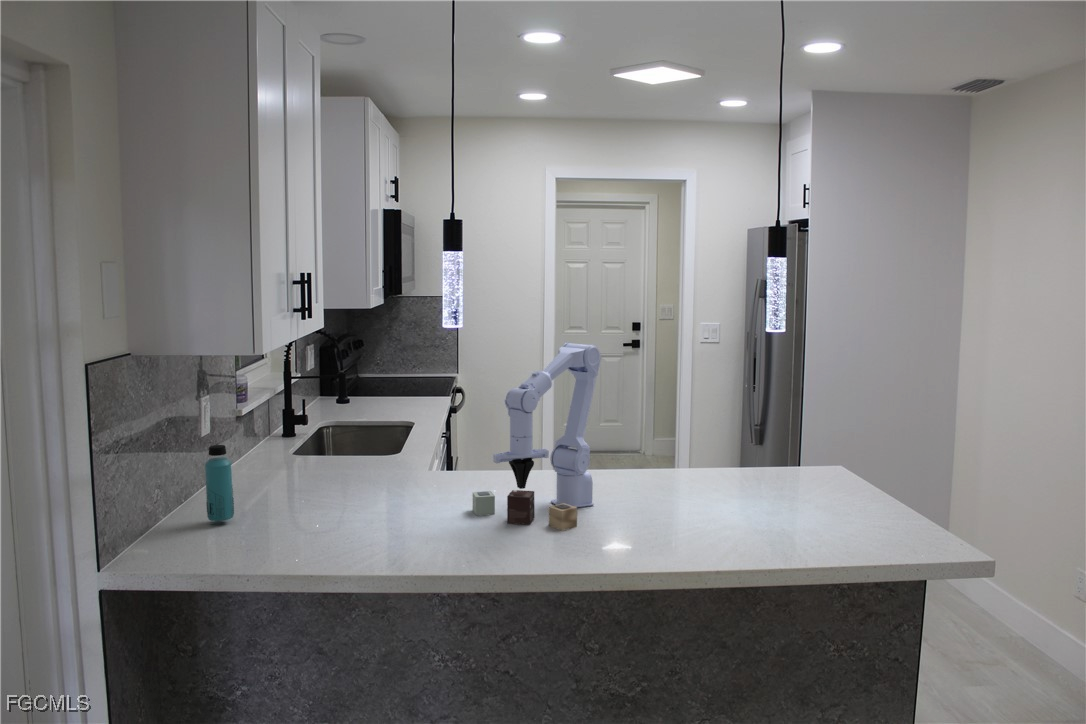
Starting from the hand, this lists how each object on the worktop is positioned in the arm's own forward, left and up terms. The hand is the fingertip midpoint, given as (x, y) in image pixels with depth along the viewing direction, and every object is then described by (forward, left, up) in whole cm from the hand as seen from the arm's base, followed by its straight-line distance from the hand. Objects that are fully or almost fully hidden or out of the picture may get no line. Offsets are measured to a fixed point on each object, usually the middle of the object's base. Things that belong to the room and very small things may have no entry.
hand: (521, 487), depth 218 cm
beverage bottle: (+70, -29, -9) cm, 76 cm away
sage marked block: (+6, -11, -9) cm, 15 cm away
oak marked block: (-8, +8, -9) cm, 14 cm away
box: (0, 0, -9) cm, 9 cm away
